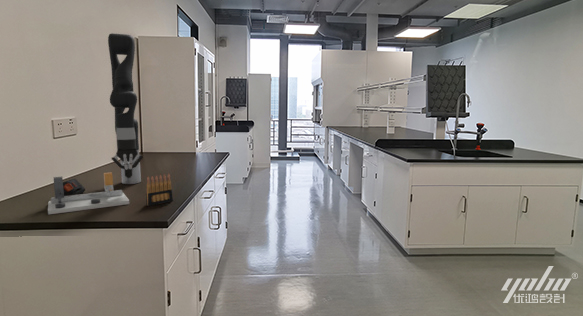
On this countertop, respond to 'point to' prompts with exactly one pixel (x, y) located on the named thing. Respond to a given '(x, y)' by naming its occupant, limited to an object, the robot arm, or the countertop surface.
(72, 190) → the battery
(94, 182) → the countertop surface
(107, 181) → the block
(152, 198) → the ammunition clip
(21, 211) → the countertop surface
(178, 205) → the countertop surface
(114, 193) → the rail and fixed leg
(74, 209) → the hole plate
